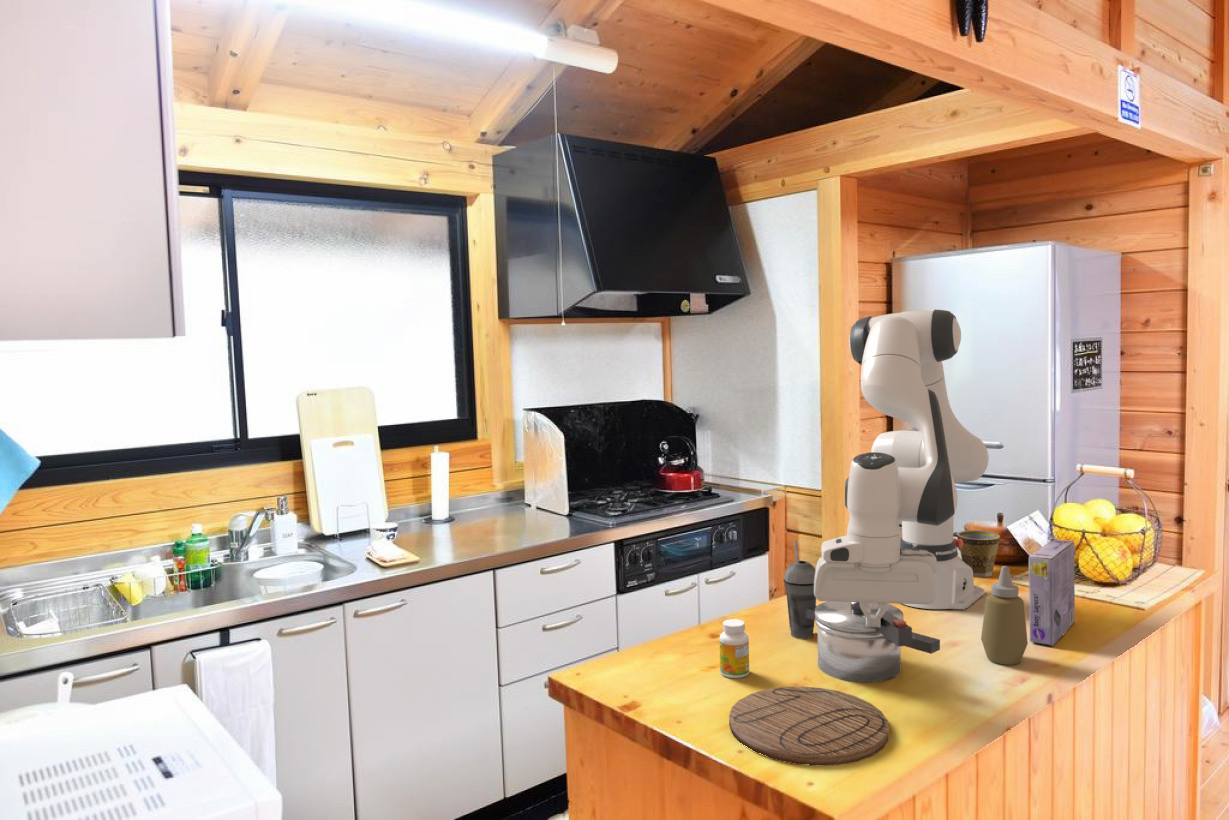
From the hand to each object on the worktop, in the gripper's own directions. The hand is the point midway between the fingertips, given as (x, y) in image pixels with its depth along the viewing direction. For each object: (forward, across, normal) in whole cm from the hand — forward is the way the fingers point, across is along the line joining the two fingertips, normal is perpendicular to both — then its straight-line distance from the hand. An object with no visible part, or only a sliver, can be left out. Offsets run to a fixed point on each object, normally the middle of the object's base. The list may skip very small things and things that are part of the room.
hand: (873, 626), depth 155 cm
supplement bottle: (+12, +24, -6) cm, 28 cm away
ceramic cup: (+12, -32, -77) cm, 85 cm away
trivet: (+13, +12, +15) cm, 23 cm away
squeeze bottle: (+12, -26, -18) cm, 34 cm away
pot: (+12, 0, -10) cm, 16 cm away
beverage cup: (+12, +12, -28) cm, 32 cm away
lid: (+3, 0, -7) cm, 7 cm away
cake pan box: (+12, -39, -35) cm, 53 cm away
